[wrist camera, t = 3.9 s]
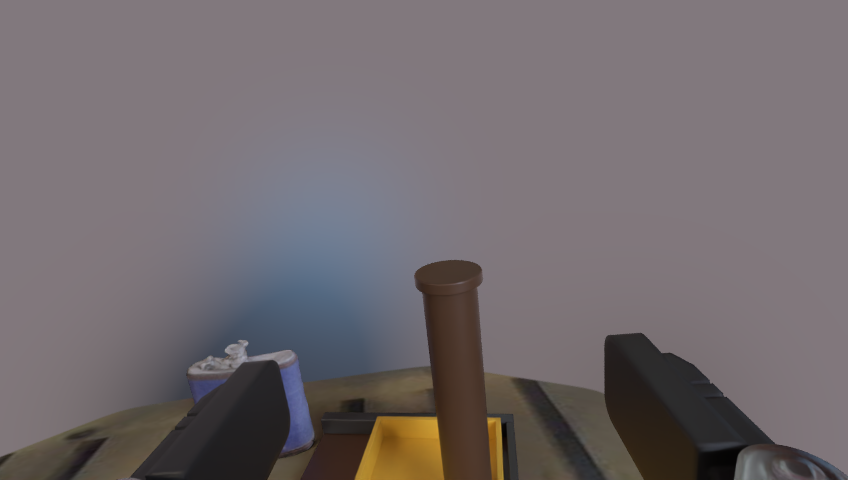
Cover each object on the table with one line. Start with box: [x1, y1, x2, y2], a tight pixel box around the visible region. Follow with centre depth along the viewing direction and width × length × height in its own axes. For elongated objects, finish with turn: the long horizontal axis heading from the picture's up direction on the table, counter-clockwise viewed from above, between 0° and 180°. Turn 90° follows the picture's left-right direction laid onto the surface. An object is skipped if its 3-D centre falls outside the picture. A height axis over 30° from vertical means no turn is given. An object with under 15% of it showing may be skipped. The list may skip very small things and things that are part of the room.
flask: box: [187, 340, 315, 458], centre depth 35 cm, size 9×3×11 cm, turn 93°
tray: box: [355, 260, 504, 480], centre depth 24 cm, size 10×16×18 cm, turn 172°
